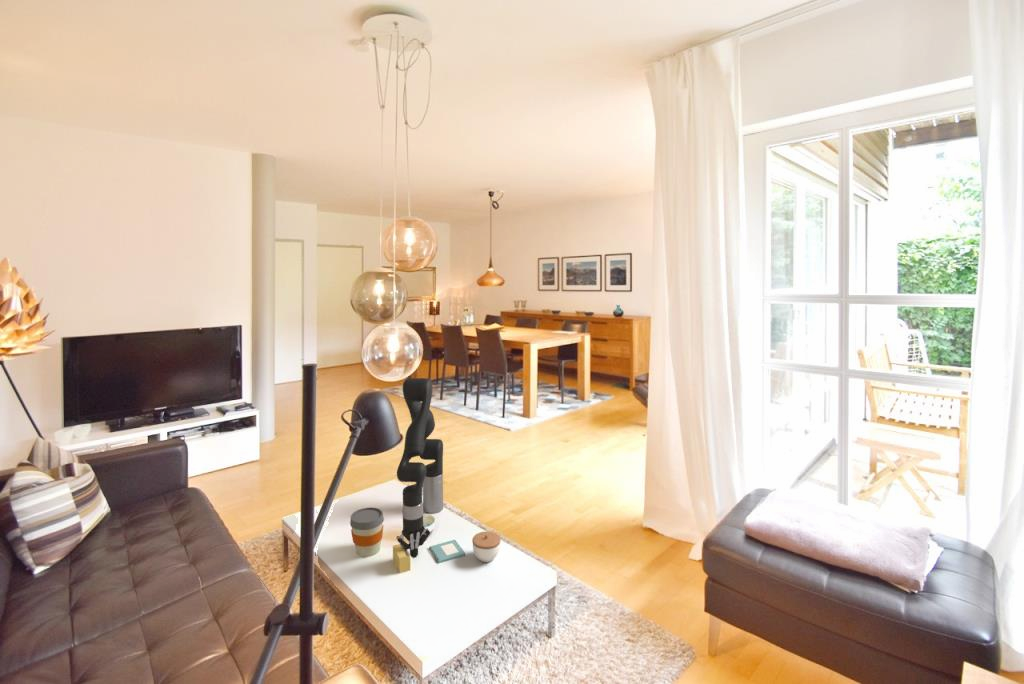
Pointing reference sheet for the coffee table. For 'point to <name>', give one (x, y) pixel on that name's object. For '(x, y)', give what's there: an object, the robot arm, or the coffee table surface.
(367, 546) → the reusable coffee cup
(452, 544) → the spiral notebook
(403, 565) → the yellow box with stripe
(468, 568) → the coffee table surface
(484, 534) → the lidded jar
